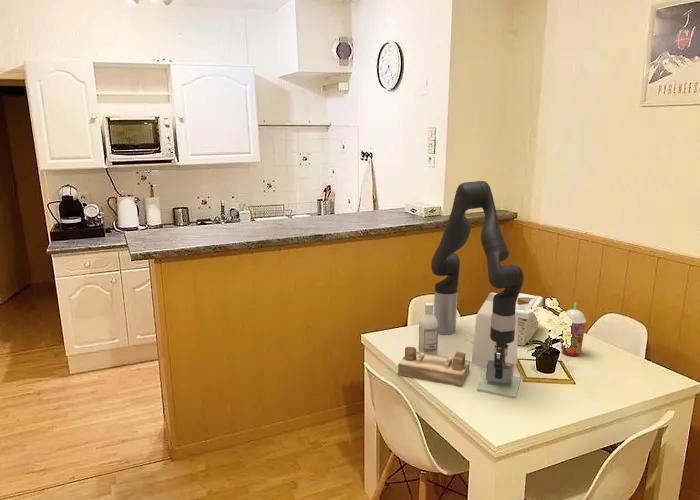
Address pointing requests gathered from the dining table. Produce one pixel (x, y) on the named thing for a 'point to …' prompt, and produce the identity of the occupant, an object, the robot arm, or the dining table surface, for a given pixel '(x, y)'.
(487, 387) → the mat
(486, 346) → the milk
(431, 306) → the bath foam
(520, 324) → the storage basket
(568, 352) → the smoothie
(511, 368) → the lever cap
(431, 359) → the wooden peg board
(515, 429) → the dining table surface
